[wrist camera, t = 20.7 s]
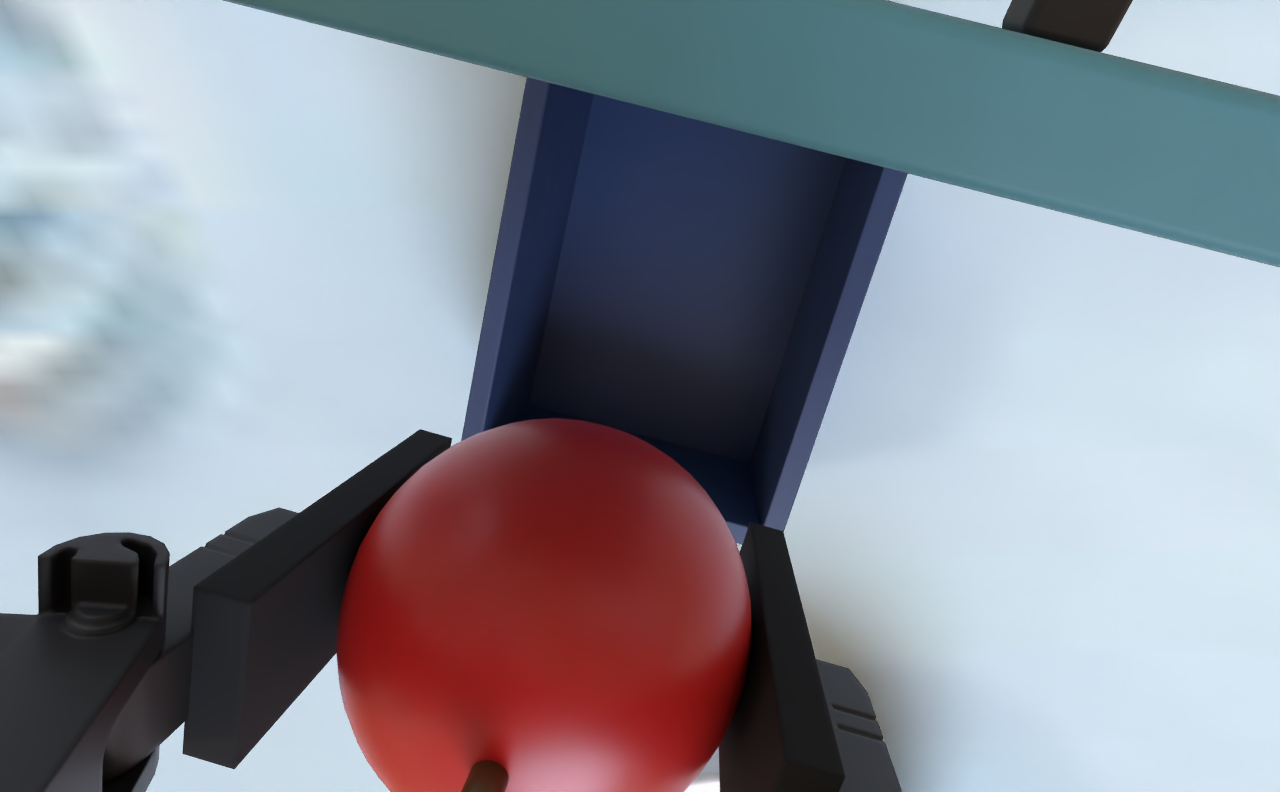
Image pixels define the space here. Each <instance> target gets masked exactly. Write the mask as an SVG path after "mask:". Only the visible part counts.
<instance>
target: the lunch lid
mask: <svg viewBox="0 0 1280 792" xmlns="http://www.w3.org/2000/svg"><path fill="white" fill-rule="evenodd" d="M224 1H228V2H232V3H236V4H239V5H243V6H247V7H251V8H255V9H259V10H263V11H267V12H271V13H275V14H279V15H283V16H287V17H291V18H295V19H299V20H303V21H307V22H311V23H315V24H319V25H323V26H327V27H331V28H335V29H338V30H342V31H346V32H350V33H354V34H358V35H362V36H366V37H370V38H374V39H378V40H382V41H386V42H390V43H394V44H398V45H402V46H406V47H410V48H414V49H418V50H422V51H426V52H430V53H434V54H437V55H441V56H445V57H449V58H453V59H457V60H461V61H465V62H469V63H473V64H477V65H481V66H485V67H489V68H493V69H497V70H501V71H505V72H509V73H513V74H517V75H521V76H525V77H529V78H532V79H536V80H540V81H544V82H548V83H552V84H556V85H560V86H564V87H568V88H572V89H576V90H580V91H584V92H588V93H592V94H596V95H600V96H604V97H608V98H612V99H616V100H620V101H624V102H628V103H631V104H635V105H639V106H643V107H647V108H651V109H655V110H659V111H663V112H667V113H671V114H675V115H679V116H683V117H687V118H691V119H695V120H699V121H703V122H707V123H711V124H715V125H719V126H723V127H727V128H730V129H734V130H738V131H742V132H746V133H750V134H754V135H758V136H762V137H766V138H770V139H774V140H778V141H782V142H786V143H790V144H794V145H798V146H802V147H806V148H810V149H814V150H818V151H822V152H825V153H829V154H833V155H837V156H841V157H845V158H849V159H853V160H857V161H861V162H865V163H869V164H873V165H877V166H881V167H885V168H889V169H893V170H897V171H901V172H905V173H909V174H913V175H917V176H921V177H924V178H928V179H932V180H936V181H940V182H944V183H948V184H952V185H956V186H960V187H964V188H968V189H972V190H976V191H980V192H984V193H988V194H992V195H996V196H1000V197H1004V198H1008V199H1012V200H1016V201H1020V202H1023V203H1027V204H1031V205H1035V206H1039V207H1043V208H1047V209H1051V210H1055V211H1059V212H1063V213H1067V214H1071V215H1075V216H1079V217H1083V218H1087V219H1091V220H1095V221H1099V222H1103V223H1107V224H1111V225H1115V226H1119V227H1122V228H1126V229H1130V230H1134V231H1138V232H1142V233H1146V234H1150V235H1154V236H1158V237H1162V238H1166V239H1170V240H1174V241H1178V242H1182V243H1186V244H1190V245H1194V246H1198V247H1202V248H1206V249H1210V250H1214V251H1217V252H1221V253H1225V254H1229V255H1233V256H1237V257H1241V258H1245V259H1249V260H1253V261H1257V262H1261V263H1265V264H1269V265H1273V266H1277V267H1280V96H1278V95H1273V94H1269V93H1265V92H1261V91H1257V90H1253V89H1249V88H1245V87H1241V86H1236V85H1232V84H1228V83H1224V82H1220V81H1216V80H1212V79H1208V78H1204V77H1199V76H1195V75H1191V74H1187V73H1183V72H1179V71H1175V70H1171V69H1167V68H1162V67H1158V66H1154V65H1150V64H1146V63H1142V62H1138V61H1134V60H1130V59H1125V58H1121V57H1117V56H1113V55H1109V54H1105V53H1101V52H1102V51H1103V50H1104V49H1105V48H1106V47H1107V45H1108V44H1109V42H1110V41H1111V39H1112V37H1113V35H1114V33H1115V31H1116V30H1117V28H1118V26H1119V24H1120V22H1121V21H1122V19H1123V17H1124V15H1125V13H1126V12H1127V10H1128V8H1129V6H1130V4H1131V3H1132V1H1133V0H1012V2H1011V4H1010V6H1009V8H1008V10H1007V13H1006V15H1005V17H1004V19H1003V24H1002V28H998V27H994V26H990V25H986V24H982V23H977V22H973V21H969V20H965V19H961V18H957V17H953V16H949V15H945V14H940V13H936V12H932V11H928V10H924V9H920V8H916V7H912V6H908V5H903V4H899V3H895V2H891V1H887V0H224Z"/></svg>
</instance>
